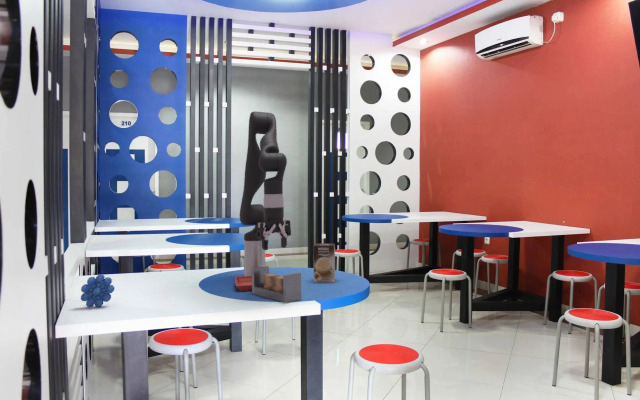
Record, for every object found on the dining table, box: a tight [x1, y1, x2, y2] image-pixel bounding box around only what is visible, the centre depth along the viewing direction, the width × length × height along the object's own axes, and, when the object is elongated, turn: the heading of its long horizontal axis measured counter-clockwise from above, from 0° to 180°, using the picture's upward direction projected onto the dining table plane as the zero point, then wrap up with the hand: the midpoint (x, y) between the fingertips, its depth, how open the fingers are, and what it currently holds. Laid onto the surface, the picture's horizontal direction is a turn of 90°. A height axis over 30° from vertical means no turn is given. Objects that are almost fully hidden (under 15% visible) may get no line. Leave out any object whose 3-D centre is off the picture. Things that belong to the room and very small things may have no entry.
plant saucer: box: [235, 275, 252, 292], centre depth 224 cm, size 18×18×3 cm
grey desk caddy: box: [251, 265, 302, 304], centre depth 204 cm, size 22×7×10 cm, turn 41°
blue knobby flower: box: [80, 273, 115, 308], centre depth 195 cm, size 12×7×12 cm, turn 100°
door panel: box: [264, 273, 283, 292], centre depth 204 cm, size 12×3×8 cm, turn 41°
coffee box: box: [313, 243, 336, 284], centre depth 231 cm, size 9×6×16 cm
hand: (274, 248), depth 204 cm, fingers open, 8 cm apart
